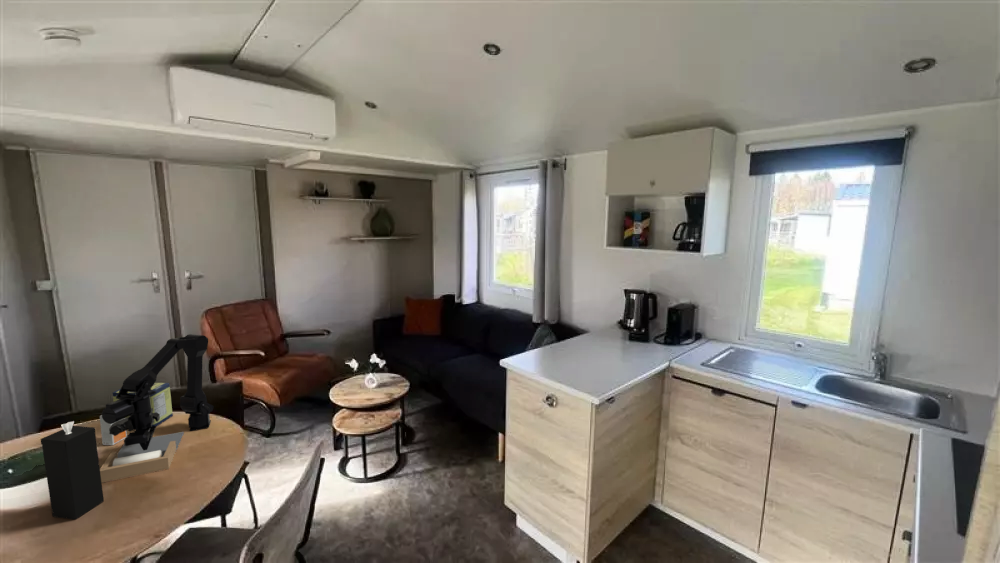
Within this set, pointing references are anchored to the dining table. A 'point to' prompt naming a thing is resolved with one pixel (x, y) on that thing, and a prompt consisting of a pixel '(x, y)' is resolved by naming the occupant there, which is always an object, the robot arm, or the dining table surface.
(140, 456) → the paper roll
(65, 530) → the dining table surface
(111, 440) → the skincare box
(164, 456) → the holder
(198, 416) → the robot arm
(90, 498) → the tissue box
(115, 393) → the protein box
